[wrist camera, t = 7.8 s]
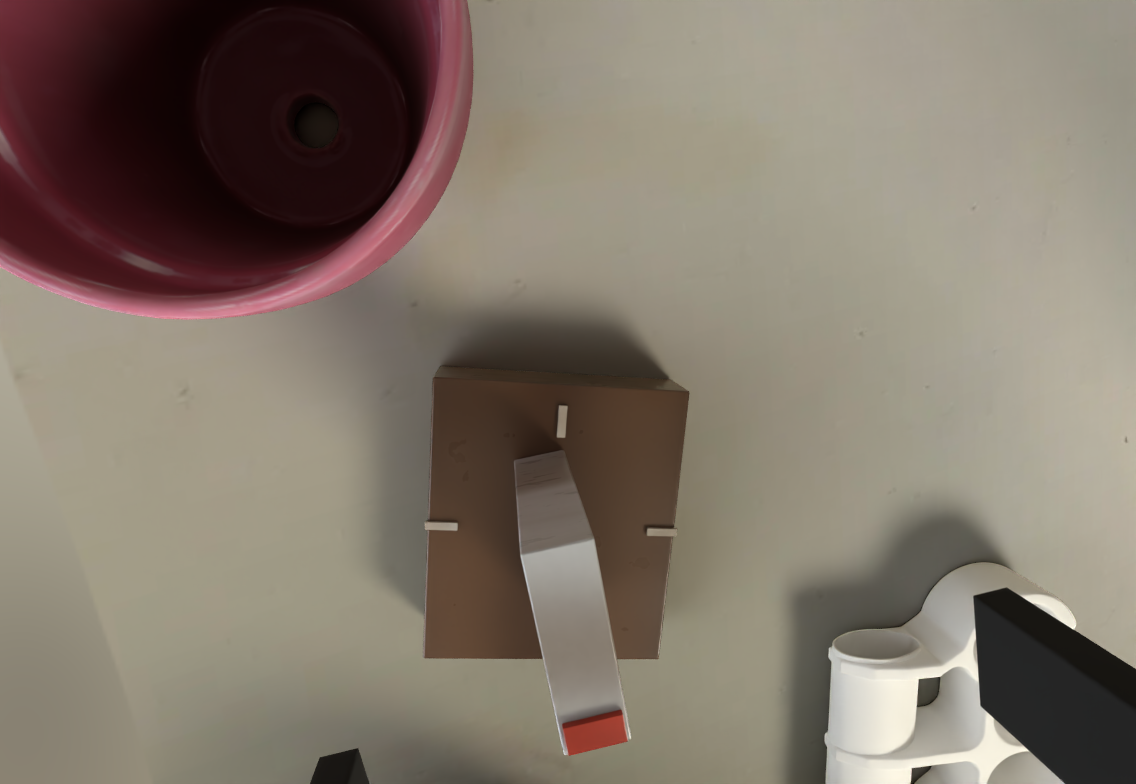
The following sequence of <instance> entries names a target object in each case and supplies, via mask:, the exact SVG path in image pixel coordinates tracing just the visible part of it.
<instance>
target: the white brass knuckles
mask: <svg viewBox="0 0 1136 784" xmlns="http://www.w3.org/2000/svg"><path fill="white" fill-rule="evenodd" d="M1006 587H1007V588H1009V589H1010V590H1012V591H1013V592H1015V593H1017V594H1018V595H1020V596H1021V597H1023V598H1024V599H1026V600H1028V601H1029V602H1031V603H1032V604H1034V605H1036V606H1037V607H1039V608H1040V609H1042V610H1043V611H1045V612H1047V613H1048V614H1050V615H1051V616H1053V617H1054V618H1056V619H1058V620H1059V621H1061V622H1062V623H1064V624H1065V625H1067V626H1069V627H1070V628H1072V629H1073V630H1074V629H1075V626H1076V620H1075V618H1074V616H1073V614H1072V612H1071V610H1070V609H1069V608H1068V607H1067V605H1066V604H1065V603H1064V602H1063V601H1061V600H1060V599H1059V598H1058V597H1056V596H1054V595H1053V594H1051V593H1049V592H1048V591H1046V590H1044V589H1043V588H1041V587H1039V586H1038V585H1036V584H1034V583H1033V582H1031V581H1029V580H1027V579H1026V578H1024V577H1022V576H1021V575H1019V574H1017V573H1016V572H1014V571H1012V570H1011V569H1009V568H1007V567H1005V566H1002V565H999V564H995V563H988V562H979V563H972V564H968V565H965V566H962V567H959V568H957V569H955V570H953V571H952V572H950V573H949V574H947V575H946V576H944V577H943V578H942V579H941V580H940V581H939V582H938V583H937V584H936V585H935V586H934V587H933V589H932V590H931V591H930V593H929V594H928V596H927V598H926V600H925V602H924V604H923V607H922V610H921V611H920V613H919V614H918V615H916V616H915V617H914V618H912V619H911V620H910V621H908V622H907V623H906V624H904V625H903V626H901V627H896V628H886V629H862V630H855V631H851V632H847V633H845V634H842V635H840V636H838V637H837V638H835V639H834V640H833V644H832V646H831V647H830V648H829V654H828V658H829V659H830V660H831V662H832V664H831V683H830V703H829V723H828V732H826V733H825V739H824V743H825V744H826V746H827V764H826V784H910V783H911V771H912V768H917V767H924V766H932V767H931V769H930V770H929V771H928V772H927V773H925V774H924V775H923V776H921V777H920V778H919V779H918V780H917V781H916V782H915V783H914V784H1065V783H1064V782H1062V781H1061V780H1060V779H1059V778H1058V777H1057V776H1056V775H1055V774H1054V773H1053V772H1052V771H1051V770H1049V769H1048V768H1047V767H1046V766H1045V765H1044V764H1043V763H1042V762H1041V761H1040V760H1039V759H1037V758H1036V757H1035V756H1034V755H1033V754H1032V753H1031V752H1030V751H1029V750H1028V749H1027V748H1025V747H1024V746H1023V745H1022V744H1021V743H1020V742H1019V741H1018V740H1017V739H1016V738H1015V737H1014V736H1012V735H1011V734H1010V733H1009V732H1008V731H1007V730H1006V729H1005V728H1004V727H1003V726H1002V725H1000V724H999V723H998V722H997V721H996V720H995V719H994V718H993V717H992V716H991V715H990V714H989V713H987V712H986V711H985V710H984V709H983V708H982V707H981V706H980V692H979V677H978V662H977V646H976V631H975V616H974V601H973V596H974V595H978V594H982V593H986V592H990V591H994V590H998V589H1002V588H1006ZM933 677H940V687H939V694H938V696H937V698H936V699H935V700H934V701H933V702H932V703H930V704H929V705H926V706H921V707H917V695H918V682H919V679H924V678H933Z"/></svg>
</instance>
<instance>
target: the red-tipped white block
mask: <svg viewBox="0 0 1136 784" xmlns="http://www.w3.org/2000/svg"><path fill="white" fill-rule="evenodd" d="M514 469H515V484H516V499H517V513H518V528H519V543H520V556H521V561H522V565H523V570H524V574H525V579H526V584H527V588H528V593H529V597H530V602H531V607H532V611H533V616H534V620H535V625H536V630H537V634H538V639H539V643H540V648H541V652H542V657H543V662H544V666H545V671H546V675H547V680H548V685H549V689H550V694H551V698H552V703H553V708H554V712H555V717H556V721H557V726H558V730H559V735H560V740H561V744H562V749H563V753H564V754H565V755H569V756H570V755H574V754H578V753H582V752H586V751H590V750H595V749H599V748H603V747H607V746H611V745H615V744H619V743H623V742H627V741H628V740H630V739H631V731H630V725H629V720H628V715H627V709H626V704H625V699H624V694H623V688H622V683H621V678H620V672H619V667H618V662H617V656H616V651H615V646H614V641H613V635H612V630H611V625H610V619H609V614H608V609H607V603H606V598H605V593H604V588H603V582H602V577H601V572H600V566H599V561H598V556H597V550H596V545H595V540H594V537H593V534H592V531H591V528H590V525H589V522H588V519H587V516H586V513H585V510H584V508H583V505H582V502H581V499H580V496H579V493H578V490H577V487H576V484H575V481H574V478H573V476H572V473H571V470H570V467H569V464H568V461H567V458H566V455H565V452H564V450H560V451H555V452H550V453H546V454H541V455H536V456H531V457H527V458H522V459H517V460H514Z"/></svg>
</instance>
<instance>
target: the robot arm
mask: <svg viewBox="0 0 1136 784" xmlns="http://www.w3.org/2000/svg"><path fill="white" fill-rule="evenodd" d="M973 601H974V616H975V631H976V646H977V662H978V677H979V692H980V706H981V707H982V708H983V709H984V710H985V711H986V712H987V713H989V714H990V715H991V716H992V717H993V718H994V719H995V720H996V721H997V722H998V723H999V724H1000V725H1002V726H1003V727H1004V728H1005V729H1006V730H1007V731H1008V732H1009V733H1010V734H1011V735H1012V736H1014V737H1015V738H1016V739H1017V740H1018V741H1019V742H1020V743H1021V744H1022V745H1023V746H1024V747H1025V748H1027V749H1028V750H1029V751H1030V752H1031V753H1032V754H1033V755H1034V756H1035V757H1036V758H1037V759H1039V760H1040V761H1041V762H1042V763H1043V764H1044V765H1045V766H1046V767H1047V768H1048V769H1049V770H1051V771H1052V772H1053V773H1054V774H1055V775H1056V776H1057V777H1058V778H1059V779H1060V780H1061V781H1062V782H1064V783H1065V784H1136V669H1135V668H1133V667H1132V666H1130V665H1128V664H1127V663H1125V662H1124V661H1122V660H1121V659H1119V658H1117V657H1116V656H1114V655H1113V654H1111V653H1110V652H1108V651H1106V650H1105V649H1103V648H1102V647H1100V646H1099V645H1097V644H1095V643H1094V642H1092V641H1091V640H1089V639H1088V638H1086V637H1084V636H1083V635H1081V634H1080V633H1078V632H1076V631H1075V630H1073V629H1072V628H1070V627H1069V626H1067V625H1065V624H1064V623H1062V622H1061V621H1059V620H1058V619H1056V618H1054V617H1053V616H1051V615H1050V614H1048V613H1047V612H1045V611H1043V610H1042V609H1040V608H1039V607H1037V606H1036V605H1034V604H1032V603H1031V602H1029V601H1028V600H1026V599H1024V598H1023V597H1021V596H1020V595H1018V594H1017V593H1015V592H1013V591H1012V590H1010V589H1009V588H1007V587H1006V588H1002V589H998V590H994V591H990V592H986V593H982V594H978V595H974V596H973ZM310 784H369V781H368V778H367V775H366V771H365V768H364V765H363V762H362V759H361V756H360V753H359V750H358V748H357V749H353V750H349V751H345V752H341V753H337V754H333V755H328V756H324V757H320V758H319V761H318V764H317V766H316V769H315V772H314V774H313V777H312V780H311V782H310Z"/></svg>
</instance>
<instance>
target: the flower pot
mask: <svg viewBox="0 0 1136 784" xmlns="http://www.w3.org/2000/svg"><path fill="white" fill-rule="evenodd" d="M472 92H473V47H472V33H471V25H470V16H469V10H468V3H467V0H0V267H1V268H3V269H5V270H7V271H9V272H10V273H12V274H14V275H16V276H18V277H20V278H22V279H24V280H26V281H28V282H30V283H32V284H34V285H37V286H39V287H41V288H44V289H46V290H48V291H51V292H53V293H56V294H58V295H61V296H63V297H66V298H69V299H73V300H76V301H79V302H82V303H85V304H88V305H91V306H95V307H99V308H103V309H107V310H111V311H116V312H121V313H126V314H132V315H138V316H146V317H154V318H165V319H212V318H226V317H236V316H246V315H253V314H259V313H265V312H271V311H277V310H281V309H286V308H290V307H294V306H297V305H301V304H304V303H308V302H311V301H314V300H317V299H320V298H323V297H326V296H328V295H331V294H333V293H335V292H337V291H339V290H342V289H344V288H346V287H348V286H350V285H352V284H354V283H355V282H357V281H359V280H361V279H362V278H364V277H366V276H367V275H369V274H370V273H372V272H373V271H374V270H376V269H377V268H379V267H380V266H381V265H383V264H384V263H386V262H387V261H388V260H389V259H390V258H391V257H392V256H394V255H395V254H396V253H397V252H398V251H399V250H400V249H401V248H402V247H403V246H405V245H406V244H407V243H408V242H409V240H410V239H411V238H412V237H413V236H414V235H415V234H416V233H417V231H418V230H419V229H420V228H421V226H422V225H423V224H424V222H425V221H426V220H427V219H428V217H429V216H430V214H431V213H432V211H433V210H434V208H435V207H436V205H437V203H438V202H439V200H440V198H441V197H442V195H443V193H444V191H445V189H446V187H447V185H448V183H449V181H450V179H451V177H452V174H453V172H454V169H455V167H456V164H457V162H458V159H459V157H460V153H461V150H462V146H463V142H464V139H465V135H466V131H467V126H468V121H469V115H470V109H471V103H472ZM313 102H320V103H323V104H326V105H327V106H329V107H330V108H331V109H333V110H334V112H335V113H336V115H337V118H338V131H337V133H336V135H335V137H334V139H333V140H332V141H331V142H330V143H329V144H327V145H326V146H323V147H319V148H311V147H308V146H306V145H304V144H303V143H302V142H301V141H300V140H299V138H298V137H297V134H296V132H295V127H294V121H295V117H296V115H297V113H298V111H299V110H300V109H301V108H302V107H303V106H305V105H307V104H309V103H313Z"/></svg>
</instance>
